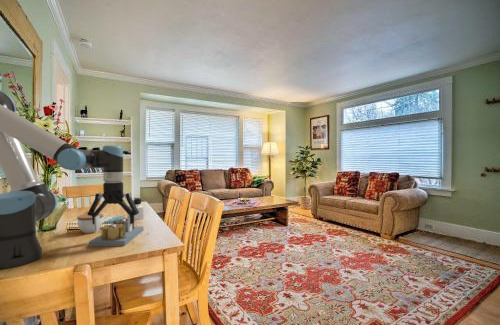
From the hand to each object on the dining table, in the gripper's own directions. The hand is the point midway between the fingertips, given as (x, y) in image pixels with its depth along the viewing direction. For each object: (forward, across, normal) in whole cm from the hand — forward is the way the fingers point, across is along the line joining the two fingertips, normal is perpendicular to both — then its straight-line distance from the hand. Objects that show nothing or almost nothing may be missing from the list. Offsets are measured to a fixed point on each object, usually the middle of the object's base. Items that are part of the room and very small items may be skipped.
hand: (113, 231), depth 110 cm
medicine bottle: (+4, -6, +41) cm, 42 cm away
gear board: (+4, 0, +5) cm, 7 cm away
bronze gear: (+2, 0, 0) cm, 2 cm away
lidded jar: (+4, -18, +16) cm, 24 cm away
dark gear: (+2, 0, +10) cm, 10 cm away
